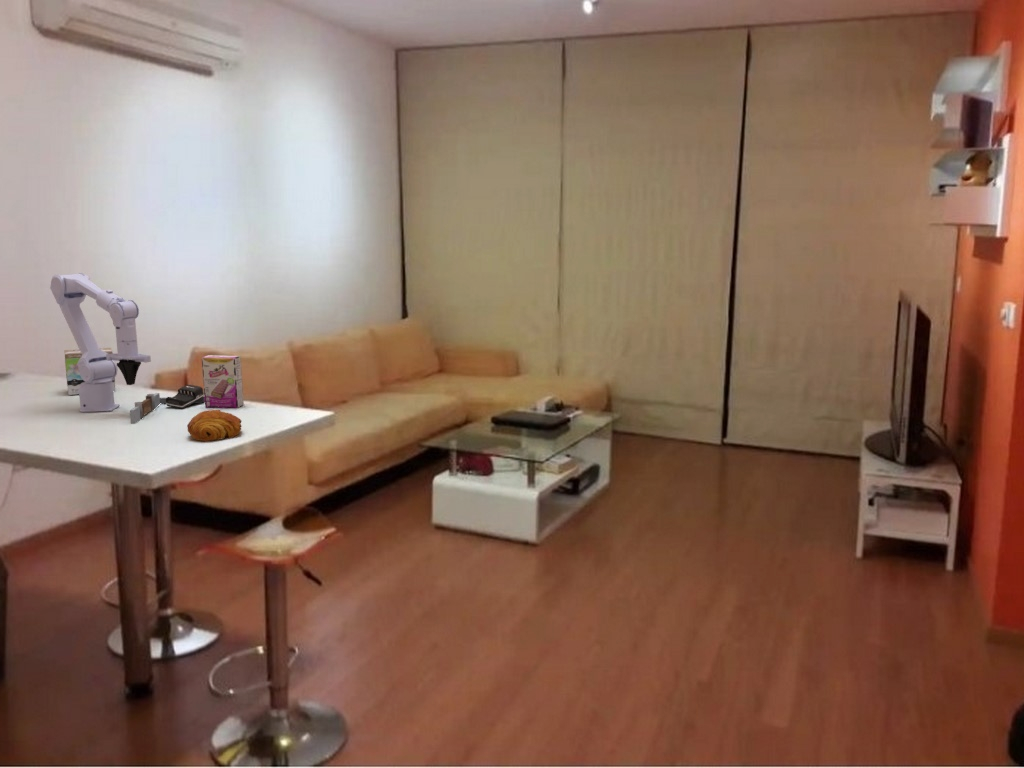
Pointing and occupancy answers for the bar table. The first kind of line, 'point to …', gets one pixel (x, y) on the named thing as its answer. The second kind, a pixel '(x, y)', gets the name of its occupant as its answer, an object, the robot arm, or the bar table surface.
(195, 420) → the croissant
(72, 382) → the tea box
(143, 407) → the gate
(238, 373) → the candy bar box
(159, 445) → the bar table surface
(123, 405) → the bar table surface
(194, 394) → the battery charger
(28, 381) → the bar table surface
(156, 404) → the fence
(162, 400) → the bar
